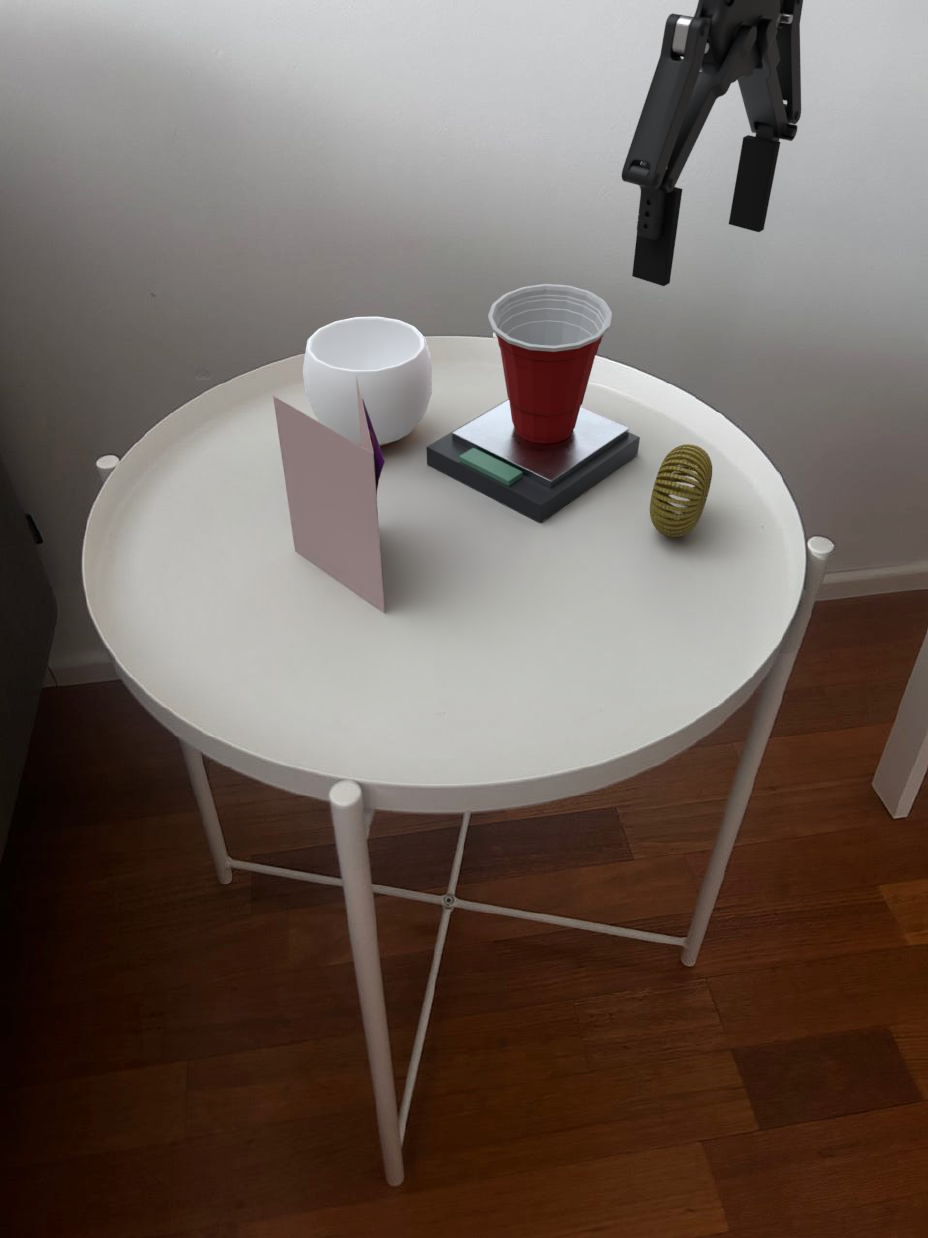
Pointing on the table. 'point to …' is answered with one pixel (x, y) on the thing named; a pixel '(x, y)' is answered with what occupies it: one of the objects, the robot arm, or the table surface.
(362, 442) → the greeting card
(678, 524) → the sculpture
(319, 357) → the cup
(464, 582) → the table surface
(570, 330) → the plastic cup
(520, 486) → the scale
